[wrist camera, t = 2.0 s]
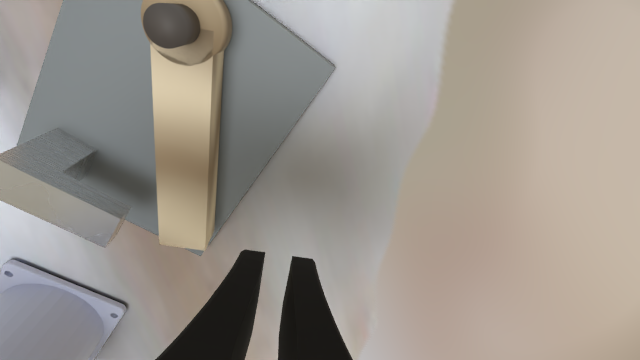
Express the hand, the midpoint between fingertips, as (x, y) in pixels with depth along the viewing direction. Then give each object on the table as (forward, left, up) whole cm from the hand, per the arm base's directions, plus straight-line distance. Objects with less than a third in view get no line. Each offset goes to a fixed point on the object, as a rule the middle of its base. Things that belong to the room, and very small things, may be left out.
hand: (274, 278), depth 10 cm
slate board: (-2, +7, -9) cm, 12 cm away
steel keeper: (-6, +8, -8) cm, 13 cm away
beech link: (-1, +5, -8) cm, 10 cm away
